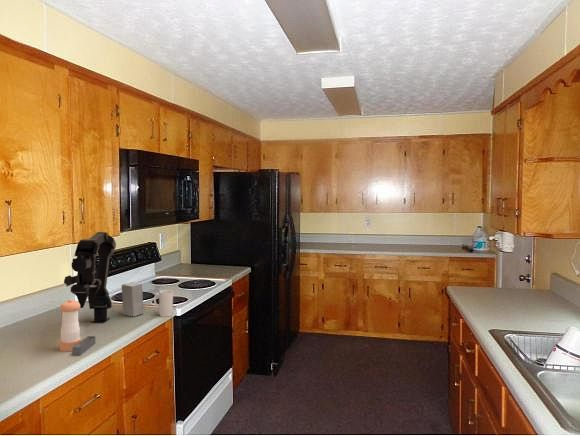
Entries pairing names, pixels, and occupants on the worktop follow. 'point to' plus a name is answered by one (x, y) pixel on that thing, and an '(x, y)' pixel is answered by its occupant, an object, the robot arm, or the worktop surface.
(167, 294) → the mug
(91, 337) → the steel bar
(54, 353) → the worktop surface
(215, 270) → the worktop surface
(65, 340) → the salt shaker
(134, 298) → the skincare box
